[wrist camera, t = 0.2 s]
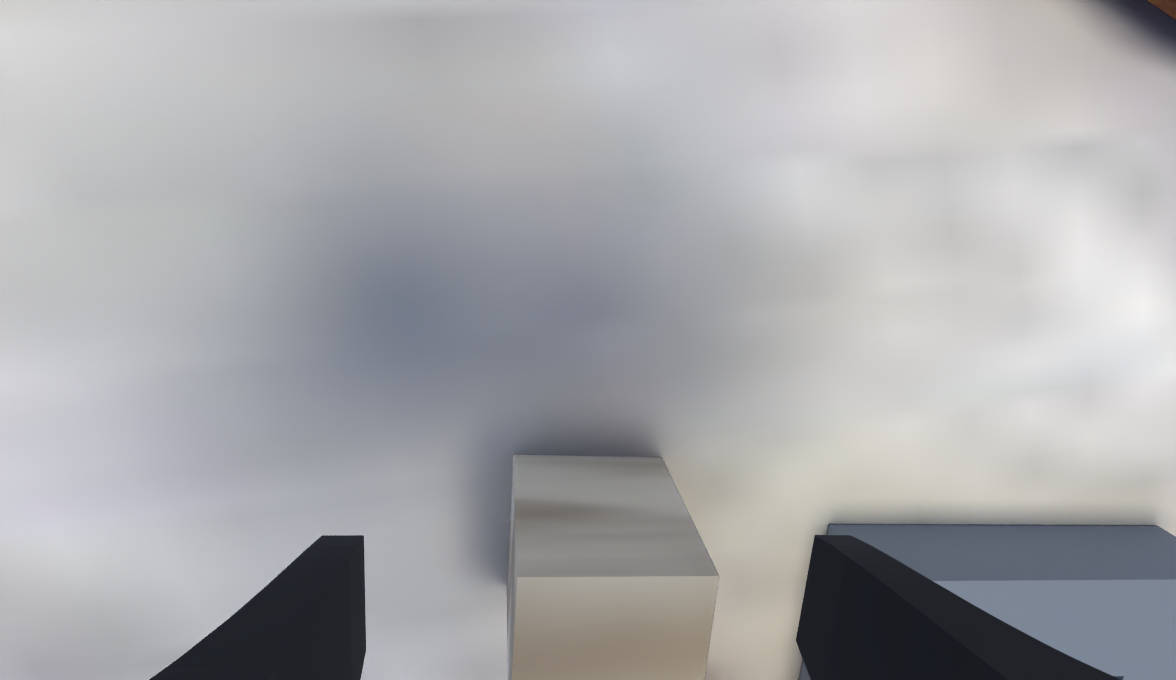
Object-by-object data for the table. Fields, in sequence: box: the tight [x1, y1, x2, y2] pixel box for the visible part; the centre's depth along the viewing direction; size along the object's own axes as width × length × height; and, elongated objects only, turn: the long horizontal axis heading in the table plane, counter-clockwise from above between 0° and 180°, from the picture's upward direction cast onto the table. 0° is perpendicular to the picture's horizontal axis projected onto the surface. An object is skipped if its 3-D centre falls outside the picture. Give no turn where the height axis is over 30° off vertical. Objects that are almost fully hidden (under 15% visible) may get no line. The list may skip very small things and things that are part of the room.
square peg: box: [507, 455, 719, 680], centre depth 19 cm, size 4×4×6 cm
